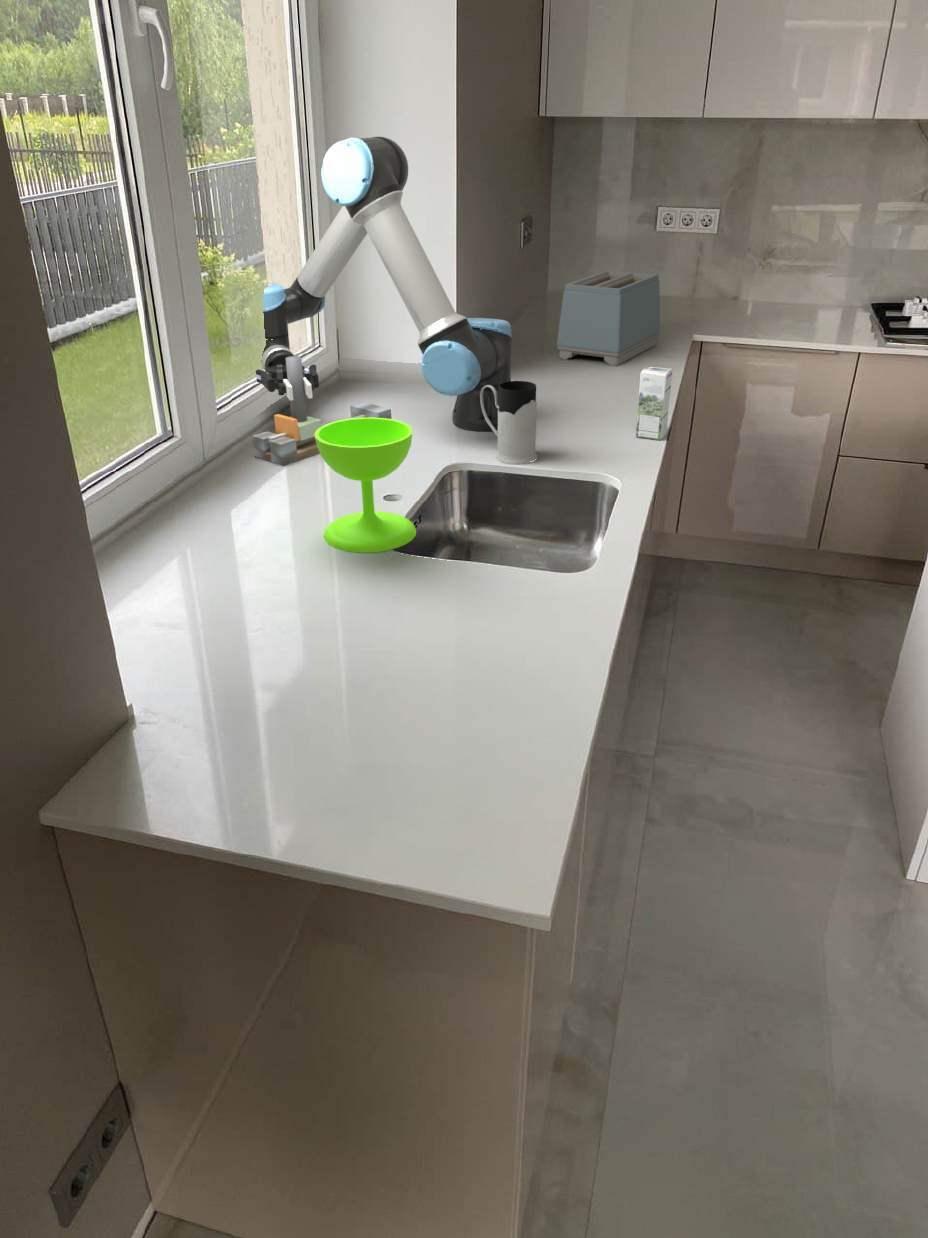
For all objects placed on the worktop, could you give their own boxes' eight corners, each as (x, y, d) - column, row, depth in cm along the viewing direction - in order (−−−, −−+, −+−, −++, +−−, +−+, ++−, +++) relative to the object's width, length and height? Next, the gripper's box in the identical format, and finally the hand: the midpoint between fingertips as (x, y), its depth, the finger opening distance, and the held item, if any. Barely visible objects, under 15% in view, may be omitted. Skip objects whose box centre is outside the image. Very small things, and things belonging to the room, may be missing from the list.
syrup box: (667, 433, 210) (673, 367, 203) (660, 441, 205) (666, 374, 198) (642, 430, 212) (647, 365, 205) (634, 437, 207) (639, 371, 200)
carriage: (322, 433, 201) (315, 357, 193) (300, 440, 197) (293, 363, 189) (300, 427, 205) (293, 352, 197) (279, 434, 201) (270, 358, 193)
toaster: (663, 342, 287) (670, 271, 277) (617, 367, 262) (622, 290, 252) (605, 336, 296) (609, 267, 286) (555, 359, 270) (558, 284, 261)
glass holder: (519, 467, 192) (520, 393, 184) (467, 452, 200) (466, 381, 193) (546, 456, 197) (548, 384, 190) (494, 442, 206) (494, 373, 198)
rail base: (391, 428, 215) (390, 408, 213) (282, 465, 194) (280, 444, 192) (364, 420, 220) (362, 401, 218) (254, 456, 199) (252, 435, 197)
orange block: (299, 440, 197) (297, 419, 195) (280, 446, 194) (277, 425, 192) (280, 434, 201) (278, 413, 199) (261, 440, 197) (258, 419, 195)
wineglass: (312, 524, 167) (303, 424, 158) (398, 509, 173) (393, 412, 164) (338, 559, 154) (330, 453, 146) (430, 542, 160) (427, 439, 151)
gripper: (318, 379, 216) (341, 406, 196) (246, 386, 211) (262, 415, 192) (315, 345, 212) (338, 370, 193) (242, 352, 207) (258, 377, 188)
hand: (300, 392), depth 192 cm, fingers closed on carriage, 3 cm apart
